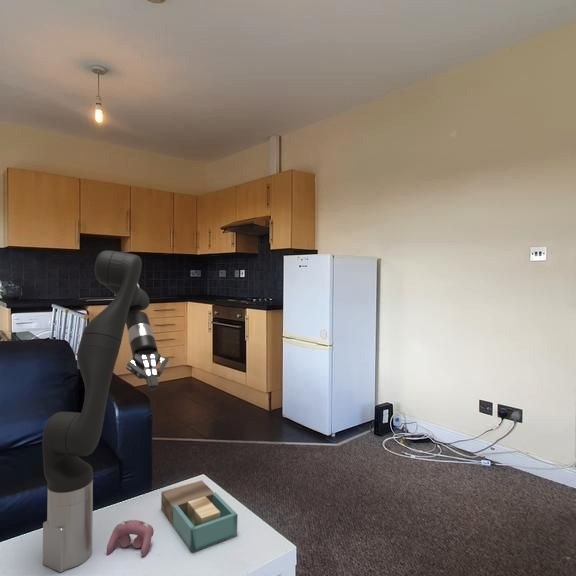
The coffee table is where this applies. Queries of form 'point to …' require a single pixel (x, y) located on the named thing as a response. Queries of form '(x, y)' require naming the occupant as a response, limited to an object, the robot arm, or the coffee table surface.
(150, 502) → the coffee table surface
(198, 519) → the maple block
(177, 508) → the bin
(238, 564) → the coffee table surface
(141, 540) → the pink arched piece
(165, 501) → the brown wooden block
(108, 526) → the coffee table surface
